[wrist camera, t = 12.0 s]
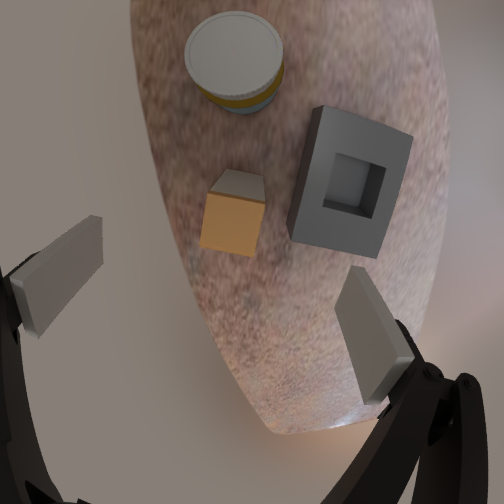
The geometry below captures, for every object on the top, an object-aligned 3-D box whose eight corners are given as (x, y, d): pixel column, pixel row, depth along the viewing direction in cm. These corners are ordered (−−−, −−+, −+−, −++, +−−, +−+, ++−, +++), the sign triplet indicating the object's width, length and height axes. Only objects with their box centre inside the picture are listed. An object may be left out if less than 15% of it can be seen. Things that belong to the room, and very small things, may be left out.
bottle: (254, 125, 30) (251, 122, 16) (201, 95, 29) (156, 73, 15) (288, 76, 28) (311, 37, 14) (234, 46, 26) (216, -9, 13)
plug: (226, 168, 32) (207, 193, 20) (263, 175, 32) (265, 204, 21) (220, 203, 34) (199, 246, 22) (255, 210, 34) (253, 257, 22)
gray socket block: (313, 108, 29) (323, 104, 24) (391, 134, 30) (413, 136, 25) (286, 223, 35) (290, 240, 30) (361, 240, 35) (376, 258, 30)
